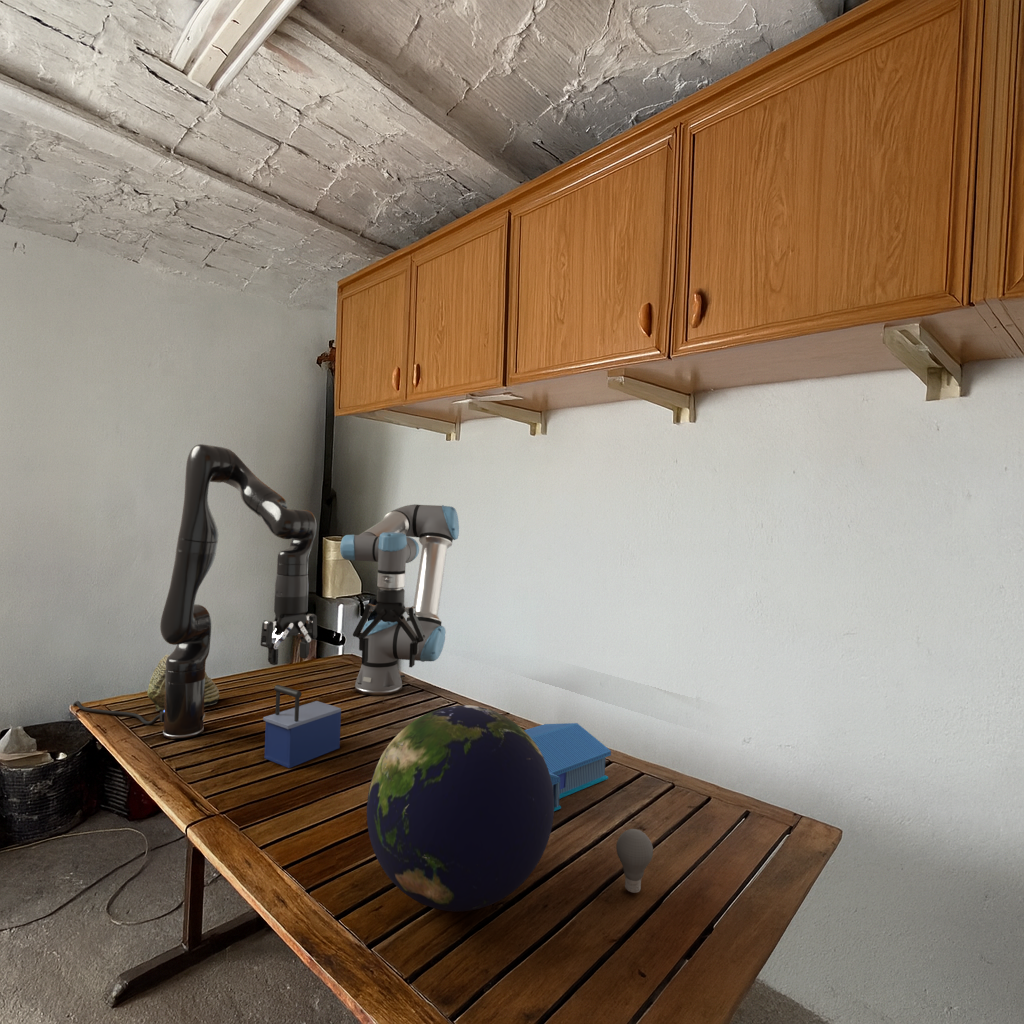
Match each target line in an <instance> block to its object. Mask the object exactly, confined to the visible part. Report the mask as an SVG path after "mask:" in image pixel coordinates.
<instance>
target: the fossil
mask: <svg viewBox="0 0 1024 1024" xmlns="http://www.w3.org/2000/svg"><path fill="white" fill-rule="evenodd" d="M169 655H170V654H165V655H164V656H163V657H162V658H161V659H160V660H159V662H158V663H157V666H156V667H155V669H154V670H153V672H152V675H151V677H150V680H149V684H148V688H147V697H148V699H149V700H150V701H152V703H153V704H154V706H155V711H158V712H160V711H164V705H165V674H166V659H167V658H168V656H169ZM220 698H221V696H220V690H219V688H218V686H217V685H216V683H215V682H214V681H213V679H212V678H211V677H209V675H208V674H207V672H206V671H205V693H204V707H207V706H213V705H215V704H217V703H218V701H219V699H220Z"/></svg>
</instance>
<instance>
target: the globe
mask: <svg viewBox="0 0 1024 1024" xmlns="http://www.w3.org/2000/svg"><path fill="white" fill-rule="evenodd" d="M524 730H525V729H523V728H522V727H521V726H520V725H518V723H516V722H514V721H513V720H512V719H510V718H508V717H507V716H505V715H503V714H501V713H499V712H497V711H494V710H493V709H489V708H485V707H482V706H477V705H469V704H468V705H467V704H465V705H452V706H446V707H442V708H438V709H435V710H432V711H429V712H428V713H425V714H423V715H422V716H419V717H417V718H416V719H415V720H413V721H411V722H409V724H407V725H406V726H405V727H404V728H402V729H401V731H399V733H398V734H396V736H395V737H394V738H393V739H392V740H391V741H390V742H389V743H388V745H387V747H385V749H384V751H382V754H381V755H380V758H379V760H378V762H377V763H376V766H375V769H374V771H373V774H372V777H371V780H370V783H369V787H368V788H369V789H368V794H367V801H366V822H367V832H368V836H369V840H370V844H371V847H372V851H373V853H374V855H375V857H376V859H377V861H378V864H379V865H380V867H381V869H382V870H383V872H384V873H385V875H386V876H387V877H388V878H389V880H390V881H391V883H393V884H394V885H395V886H396V887H397V888H398V890H400V891H401V892H402V893H404V894H405V895H406V896H408V897H409V898H410V899H412V900H413V901H415V902H417V903H419V904H421V905H424V906H426V907H428V908H429V907H430V908H431V909H436V910H439V911H445V912H455V913H456V912H471V911H475V910H479V909H483V908H486V907H489V906H491V905H494V904H496V903H499V902H500V901H502V900H503V899H505V898H506V897H508V896H509V895H511V894H512V893H514V892H515V891H516V890H517V889H518V888H519V887H520V886H522V885H523V884H524V882H526V880H527V879H528V878H529V877H530V875H532V873H533V871H534V870H535V869H536V867H537V866H538V864H539V863H540V860H541V859H542V857H543V855H544V853H545V850H546V848H547V846H548V843H549V841H550V837H551V833H552V827H553V823H554V814H555V811H554V794H553V786H552V782H551V777H550V774H549V770H548V767H547V765H546V763H545V760H544V757H543V755H542V753H541V752H540V750H539V748H538V747H537V745H536V744H535V742H534V741H533V740H532V739H531V737H530V736H529V735H528V734H527V733H526V732H525V731H524Z"/></svg>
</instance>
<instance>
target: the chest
mask: <svg viewBox="0 0 1024 1024" xmlns="http://www.w3.org/2000/svg"><path fill="white" fill-rule="evenodd" d="M341 721H342V711H341V712H338V713H335V714H332V715H329V716H326V717H323V718H320V719H317V720H314V721H311V722H308V723H305V724H302V725H299V726H296V727H294V728H291V729H286V728H283V727H280V726H278V725H275V724H272V723H269V722H266V721H265V733H264V759H265V760H268V761H270V762H272V763H275V764H277V765H280V766H282V767H285V768H288V769H291V768H294V767H296V766H299V765H301V764H304V763H306V762H309V761H311V760H314V759H316V758H319V757H322V756H324V755H326V754H329V753H331V752H334V751H336V750H339V749H340V748H341V746H340V745H341V726H342V725H341Z"/></svg>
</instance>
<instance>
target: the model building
mask: <svg viewBox="0 0 1024 1024" xmlns="http://www.w3.org/2000/svg"><path fill="white" fill-rule="evenodd" d="M523 730H524V731H525V732H526V733H527V734H528V735H529V736H530V737H531V739H532V740H533V741H534V742H535V744H536V745H537V747H538V748H539V750H540V752H541V753H542V755H543V757H544V760H545V763H546V765H547V767H548V770H549V774H550V777H551V782H552V786H553V794H554V812H556V811H559V810H561V809H562V806H561V805H560V799H563V798H565V797H567V796H570V795H572V794H575V793H578V792H580V791H583V790H584V789H587V788H589V787H591V786H594V785H596V784H599V783H601V782H603V781H606V780H609V776H608V775H606V758H607V757H610V756H612V750H611V749H609V748H608V747H607V746H606V745H605V744H603V742H601V741H600V740H598V739H597V738H596V737H595V736H594V735H592V734H591V733H590V732H589V731H588V730H586V729H585V728H584V727H583V726H581V725H580V724H579V723H578V722H572V723H571V722H568V723H564V722H563V723H544V724H540V725H537V726H533V727H531V728H527V729H523Z"/></svg>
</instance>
